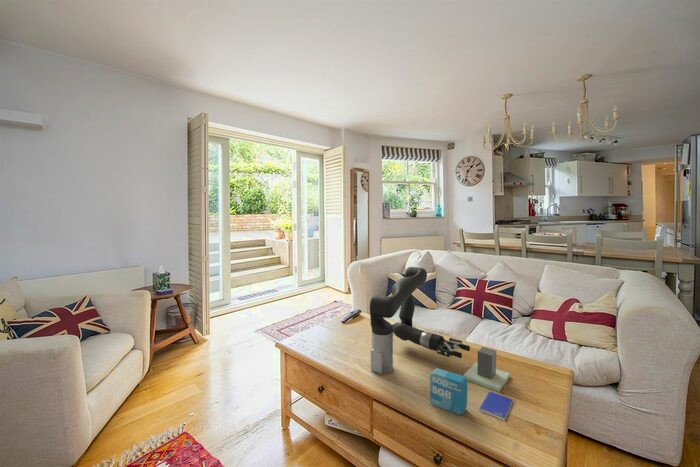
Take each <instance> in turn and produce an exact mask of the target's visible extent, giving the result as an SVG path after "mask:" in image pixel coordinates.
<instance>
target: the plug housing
mask: <svg viewBox="0 0 700 467" xmlns="http://www.w3.org/2000/svg"><path fill="white" fill-rule="evenodd" d="M477 363H478V367H477V374H478V375H480V376H483V377H486V378H489V379H492V378H493V377H494V375H495V374H496V369H497V350H495V349H492V348H488V347H485V346H482V347H480V349H479V350H478V351H477Z"/></svg>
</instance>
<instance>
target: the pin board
mask: <svg viewBox="0 0 700 467" xmlns="http://www.w3.org/2000/svg"><path fill="white" fill-rule="evenodd" d="M477 367H478V361H477V362H474V364H472V365H471V367H470V368H469V369H467V371H466V372H465V373H464V374H463V375H462V376H464V377H465V378H466V379H467V382H468V381H469V382H471V383H474V384H477V385H479V386H482V387H485V388H487V389H490V390H492V391H495V392H498V393H500V392H501V390H502V388H503V387H504V386H505V385H506V383H507V382H508V380H509V379H510V378H511V377H510V376H511V375H510V372H507V371H503V370H501V369H498V368H496V374H495V375H494V377H493V378H492V379H489V378H486V377H483V376H480V375H478V374H477Z"/></svg>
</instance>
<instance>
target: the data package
mask: <svg viewBox="0 0 700 467" xmlns="http://www.w3.org/2000/svg"><path fill="white" fill-rule="evenodd" d="M429 383H430V384H429V401H430V403H431V404H432V405H433V406H436V407H438V408H440V409H443V410H446V411H449V412H450V413H453V414H456V415H459V416H462V415H463V414H464V413H465V411H466V409H467V407H468V380H467V379H466V378H465V377H464V376H463V375H461V374H457V373H453V372H451V371H447V370H445V369H441V368H435V369H434V370H433V371H432V372H431V374H430V376H429Z"/></svg>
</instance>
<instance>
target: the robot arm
mask: <svg viewBox="0 0 700 467" xmlns="http://www.w3.org/2000/svg"><path fill="white" fill-rule="evenodd" d="M427 278H428V273H427V270H426V269H424V268H422V267H417V266H416V267H415V266H408V267H407V268H406V270H405V272H404V277H403V278H400V279H399V280H397V281H396V282H395V283H394V284H393V285H392V286H391V296H388V295H383V294H374V295H373V296H371V299H370V300H369V301H370V302H369V317H370V328H371V349H370V370H371V372H375V373H376V374H379V375H381V376H382V375H386V374H390V373H392V371H393V370H394V348H393V347H394V342H393V340H394V337H393V336H396V338H398V339H400V340H401V341H405V342H406V341H409V342H411V343H413V344H415V345H418V346H420V347H421V346H422V347H423V348H425V349H428V350H431V351H434V352H436V354H439V355H441V356H444V357H446V358H450V357H456V358H459V359H462V358H463V353H462V352H461V351H457V350H458V349H461V350H464V351H467V352H470V351H471V347H470V346H469V345H468V344H465V343H463V341H462V340H459V339H456V338H452V337H449V340H448V339H445V337H444V336H443V335H441V334H437V333H434V332H431V331H426V330H421V329H419V328H417V329H415V328H416V327H415V328H413V327H414V326H413V317H414V312H415V309H416V308H415V307H416V306H415V304H416V303H415V300H414V298H413V293H414V292H415V291H416V290H417V289H418V288H420V287H422V286H423V285H424V284H425V282H426V281H427ZM399 309H400V310H399ZM398 311H399V315H398V317H399V319H400V322H399V323H398V324H396V325H395V326H394V328H393V327H392V325H393V324H392V323H390V322H389V321H388V320H386V319H391V318H393V317H394V316H395V315H396V313H397V312H398ZM385 318H386V319H385Z"/></svg>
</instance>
